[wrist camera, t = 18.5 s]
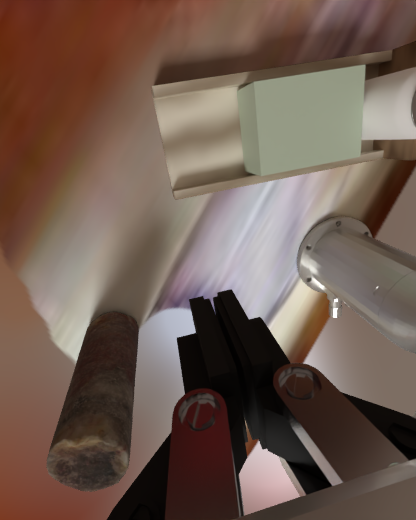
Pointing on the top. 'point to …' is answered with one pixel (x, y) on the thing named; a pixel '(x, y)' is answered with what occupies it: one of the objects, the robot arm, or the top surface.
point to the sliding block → (301, 120)
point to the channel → (229, 132)
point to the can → (390, 106)
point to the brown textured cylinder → (98, 408)
